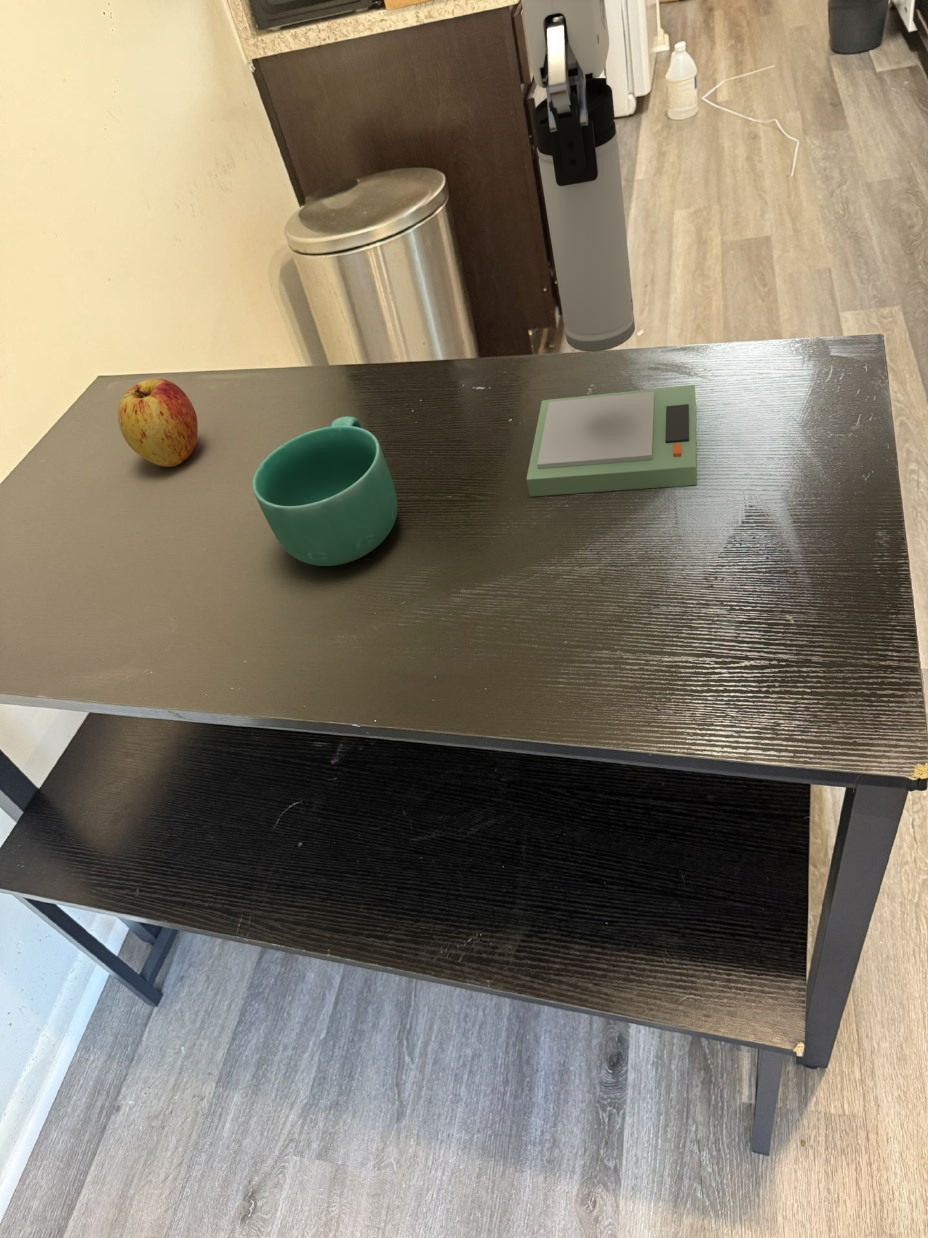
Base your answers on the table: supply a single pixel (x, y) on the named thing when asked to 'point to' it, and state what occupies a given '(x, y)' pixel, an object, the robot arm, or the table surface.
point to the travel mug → (590, 233)
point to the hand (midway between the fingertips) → (581, 162)
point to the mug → (328, 494)
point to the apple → (158, 422)
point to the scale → (615, 442)
